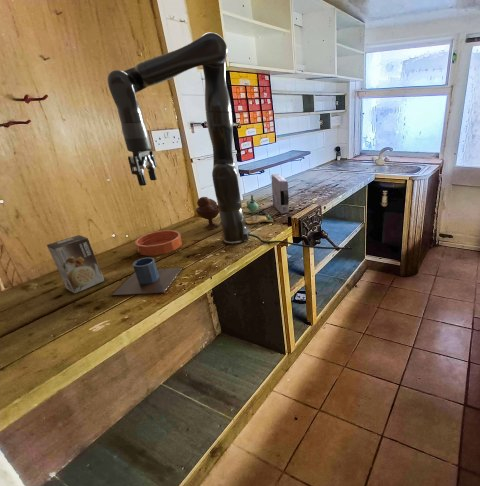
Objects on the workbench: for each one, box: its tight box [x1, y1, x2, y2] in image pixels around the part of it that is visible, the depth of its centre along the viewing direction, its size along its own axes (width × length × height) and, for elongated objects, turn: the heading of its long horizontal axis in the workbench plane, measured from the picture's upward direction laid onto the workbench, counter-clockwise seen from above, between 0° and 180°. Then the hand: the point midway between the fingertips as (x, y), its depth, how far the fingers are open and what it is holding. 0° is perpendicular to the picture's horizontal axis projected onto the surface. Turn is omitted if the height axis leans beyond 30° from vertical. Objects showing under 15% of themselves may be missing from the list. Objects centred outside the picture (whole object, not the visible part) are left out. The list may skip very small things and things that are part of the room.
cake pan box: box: [270, 173, 290, 215], centre depth 169 cm, size 19×5×18 cm, turn 23°
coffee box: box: [46, 234, 105, 294], centre depth 101 cm, size 9×6×16 cm
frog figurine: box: [242, 194, 275, 225], centre depth 153 cm, size 10×18×15 cm, turn 67°
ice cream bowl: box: [195, 196, 219, 229], centre depth 147 cm, size 11×11×15 cm
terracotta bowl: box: [134, 229, 183, 257], centre depth 129 cm, size 17×17×4 cm
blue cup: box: [132, 257, 159, 285], centre depth 103 cm, size 6×6×7 cm
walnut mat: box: [111, 267, 183, 297], centre depth 105 cm, size 16×16×1 cm
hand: (148, 182), depth 115 cm, fingers open, 8 cm apart
